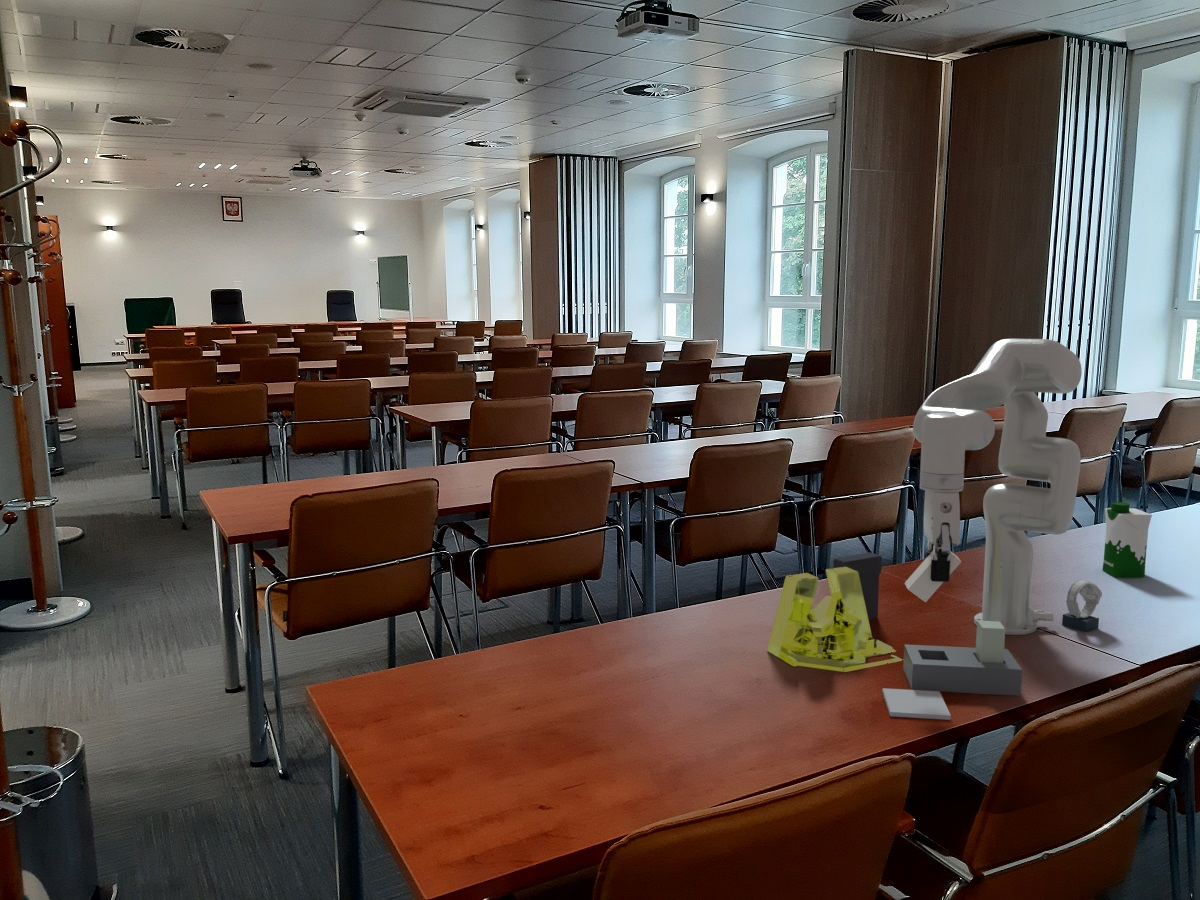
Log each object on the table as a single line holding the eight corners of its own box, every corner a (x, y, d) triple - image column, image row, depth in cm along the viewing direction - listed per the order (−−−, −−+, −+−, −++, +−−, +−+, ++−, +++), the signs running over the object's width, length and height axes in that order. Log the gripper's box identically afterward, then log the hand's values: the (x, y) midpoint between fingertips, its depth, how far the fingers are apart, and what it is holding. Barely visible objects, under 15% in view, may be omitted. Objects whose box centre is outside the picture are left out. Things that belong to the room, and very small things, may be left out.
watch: (1103, 630, 198) (1107, 581, 197) (1080, 637, 194) (1084, 587, 193) (1079, 623, 203) (1082, 575, 201) (1056, 629, 199) (1059, 580, 198)
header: (1006, 674, 176) (1007, 649, 175) (1020, 695, 166) (1022, 669, 165) (903, 668, 179) (904, 644, 178) (911, 689, 169) (912, 664, 168)
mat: (939, 695, 166) (939, 691, 166) (950, 719, 157) (950, 715, 157) (882, 692, 168) (882, 688, 168) (890, 716, 158) (890, 711, 158)
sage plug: (996, 672, 173) (999, 621, 171) (1002, 680, 169) (1005, 628, 168) (974, 670, 174) (977, 620, 172) (979, 679, 170) (982, 627, 168)
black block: (866, 614, 211) (868, 551, 208) (879, 619, 207) (882, 555, 204) (829, 622, 206) (830, 557, 203) (842, 627, 202) (844, 562, 200)
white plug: (921, 595, 173) (956, 555, 171) (925, 602, 169) (961, 561, 167) (904, 582, 173) (939, 542, 171) (907, 589, 170) (943, 548, 167)
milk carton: (1096, 574, 239) (1102, 499, 236) (1131, 574, 239) (1137, 499, 236) (1114, 584, 230) (1120, 507, 227) (1150, 584, 230) (1157, 506, 227)
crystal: (761, 647, 191) (762, 575, 189) (858, 629, 201) (860, 561, 199) (814, 679, 175) (816, 600, 172) (917, 659, 184) (920, 584, 182)
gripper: (973, 490, 159) (968, 592, 161) (953, 472, 175) (949, 565, 178) (928, 489, 160) (924, 590, 163) (912, 472, 176) (909, 564, 179)
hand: (937, 576), depth 170 cm, fingers closed on white plug, 4 cm apart
